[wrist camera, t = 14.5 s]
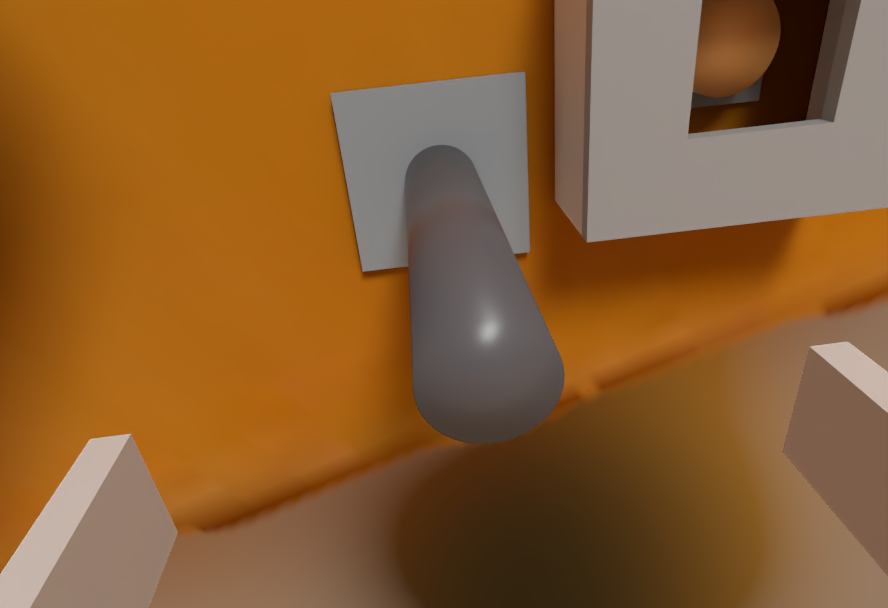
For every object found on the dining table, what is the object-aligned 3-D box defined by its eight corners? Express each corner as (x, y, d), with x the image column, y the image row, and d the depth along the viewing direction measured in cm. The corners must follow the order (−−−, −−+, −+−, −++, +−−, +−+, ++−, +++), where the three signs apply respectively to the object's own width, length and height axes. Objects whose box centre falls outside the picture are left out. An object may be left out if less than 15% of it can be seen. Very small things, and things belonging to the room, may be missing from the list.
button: (656, 95, 27) (674, 102, 26) (664, -9, 25) (684, -9, 24) (747, 85, 27) (770, 91, 26) (762, -20, 25) (789, -21, 24)
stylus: (409, 219, 29) (421, 451, 14) (400, 148, 28) (404, 329, 13) (479, 211, 29) (563, 434, 14) (474, 141, 28) (565, 310, 13)
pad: (363, 267, 31) (362, 271, 31) (332, 92, 27) (330, 94, 26) (527, 247, 31) (529, 252, 31) (522, 71, 27) (525, 72, 26)
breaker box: (554, 200, 30) (586, 242, 25) (554, -130, 23) (597, -165, 18) (817, 170, 30) (902, 205, 25) (891, -166, 24) (1027, -210, 18)
